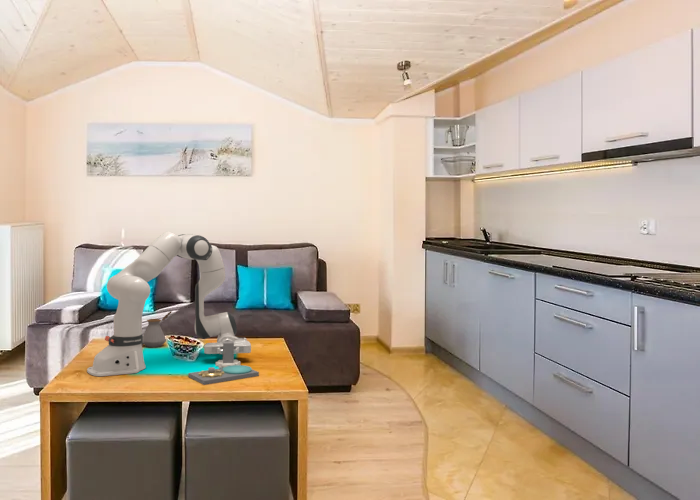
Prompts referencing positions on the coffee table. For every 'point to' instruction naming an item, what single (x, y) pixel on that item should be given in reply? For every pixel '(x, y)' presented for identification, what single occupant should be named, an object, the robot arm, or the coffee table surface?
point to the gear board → (223, 374)
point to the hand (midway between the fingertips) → (228, 351)
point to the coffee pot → (154, 333)
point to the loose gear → (227, 355)
